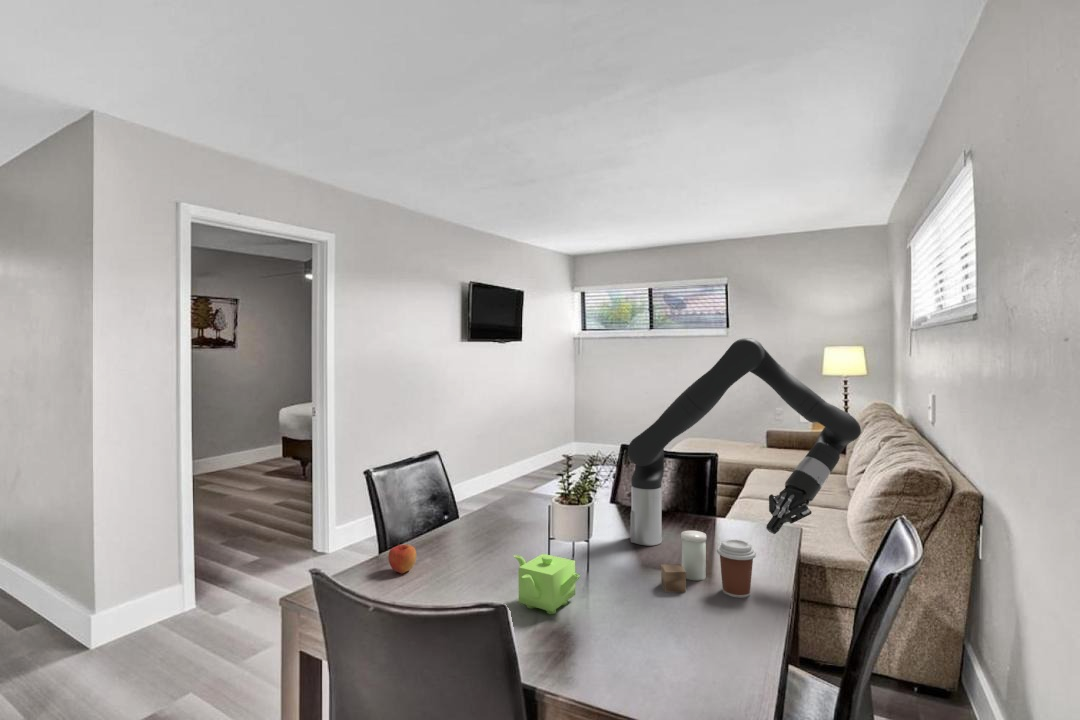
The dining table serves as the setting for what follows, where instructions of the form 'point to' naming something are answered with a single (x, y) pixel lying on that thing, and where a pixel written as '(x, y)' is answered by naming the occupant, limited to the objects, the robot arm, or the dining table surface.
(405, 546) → the apple
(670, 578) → the walnut block
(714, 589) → the dining table surface
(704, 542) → the canister
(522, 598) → the kettle
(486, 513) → the dining table surface
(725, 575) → the coffee cup
